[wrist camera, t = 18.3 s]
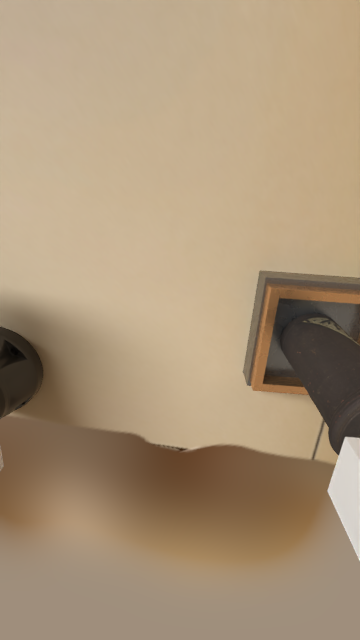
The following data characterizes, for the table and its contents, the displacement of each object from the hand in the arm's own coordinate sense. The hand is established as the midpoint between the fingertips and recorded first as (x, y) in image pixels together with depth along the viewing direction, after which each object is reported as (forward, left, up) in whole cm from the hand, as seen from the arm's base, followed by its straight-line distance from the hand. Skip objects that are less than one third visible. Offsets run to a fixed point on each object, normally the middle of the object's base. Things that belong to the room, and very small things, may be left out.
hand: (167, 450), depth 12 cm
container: (+19, -9, -33) cm, 39 cm away
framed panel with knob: (+23, -9, -37) cm, 44 cm away
